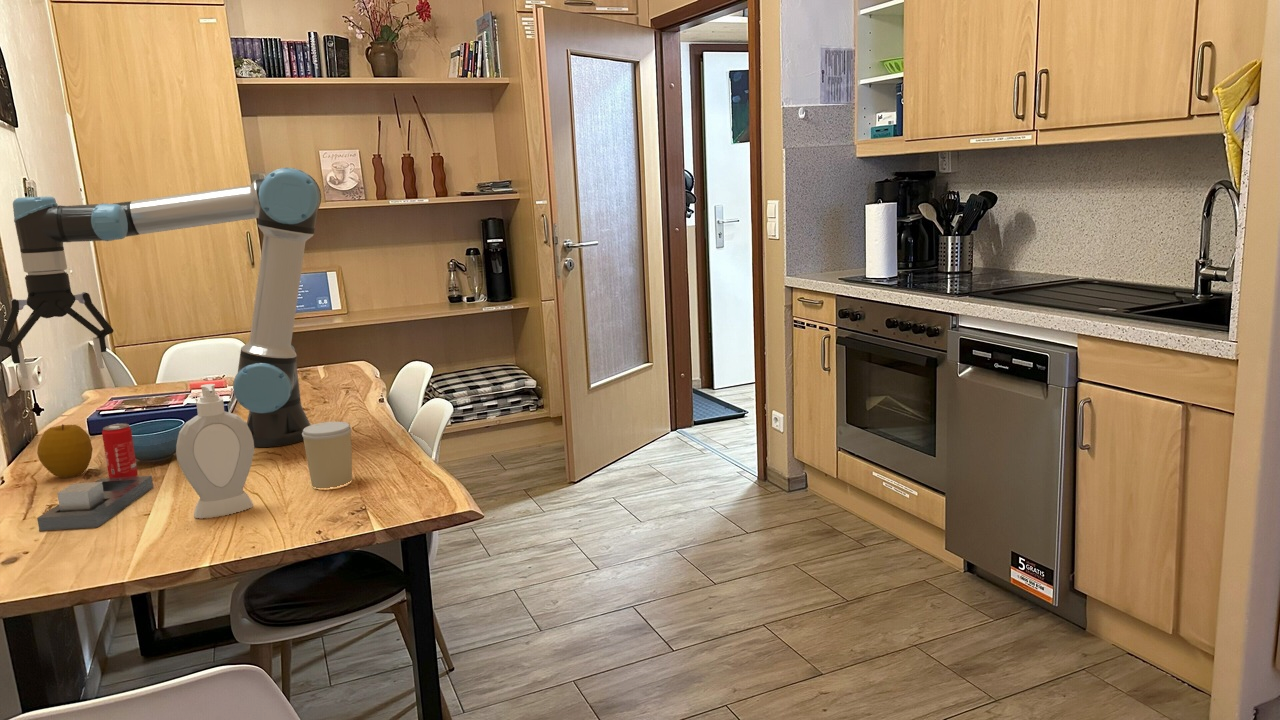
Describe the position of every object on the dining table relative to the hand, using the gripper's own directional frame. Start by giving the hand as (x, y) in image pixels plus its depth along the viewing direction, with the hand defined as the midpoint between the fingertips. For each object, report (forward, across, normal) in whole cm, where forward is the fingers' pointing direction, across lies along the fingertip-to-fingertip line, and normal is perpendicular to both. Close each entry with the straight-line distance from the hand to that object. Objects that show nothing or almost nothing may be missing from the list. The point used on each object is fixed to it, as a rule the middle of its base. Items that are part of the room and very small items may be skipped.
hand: (63, 373), depth 184 cm
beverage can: (+23, -6, +13) cm, 27 cm away
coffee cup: (+23, -37, +47) cm, 64 cm away
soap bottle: (+23, -16, +49) cm, 57 cm away
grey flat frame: (+23, +1, +28) cm, 36 cm away
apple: (+23, +2, 0) cm, 23 cm away
